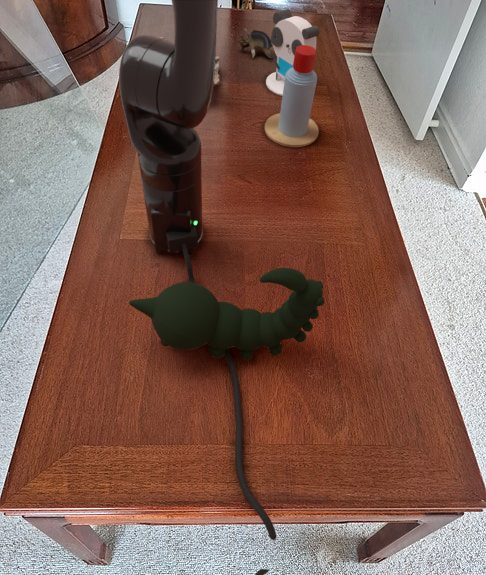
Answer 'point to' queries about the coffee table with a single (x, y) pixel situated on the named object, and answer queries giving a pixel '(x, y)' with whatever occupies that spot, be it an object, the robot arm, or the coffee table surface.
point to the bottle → (296, 102)
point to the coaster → (284, 140)
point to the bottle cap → (304, 59)
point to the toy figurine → (232, 316)
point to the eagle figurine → (257, 42)
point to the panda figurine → (288, 45)
